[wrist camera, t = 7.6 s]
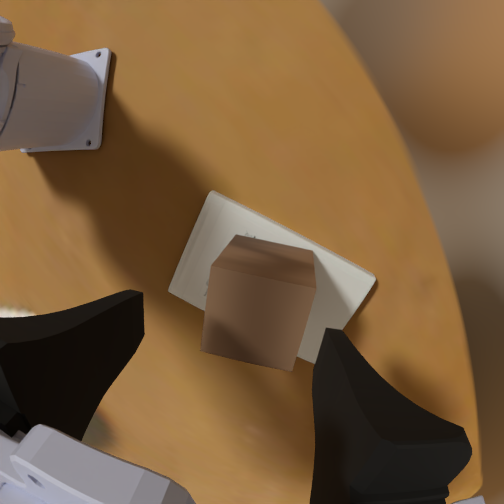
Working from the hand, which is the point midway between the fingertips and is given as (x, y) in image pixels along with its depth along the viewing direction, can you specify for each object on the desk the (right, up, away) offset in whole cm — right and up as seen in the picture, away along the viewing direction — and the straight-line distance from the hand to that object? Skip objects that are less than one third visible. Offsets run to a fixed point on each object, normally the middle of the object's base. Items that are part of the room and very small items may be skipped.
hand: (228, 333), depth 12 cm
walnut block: (+2, +1, +9) cm, 10 cm away
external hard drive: (+2, +1, +11) cm, 11 cm away
